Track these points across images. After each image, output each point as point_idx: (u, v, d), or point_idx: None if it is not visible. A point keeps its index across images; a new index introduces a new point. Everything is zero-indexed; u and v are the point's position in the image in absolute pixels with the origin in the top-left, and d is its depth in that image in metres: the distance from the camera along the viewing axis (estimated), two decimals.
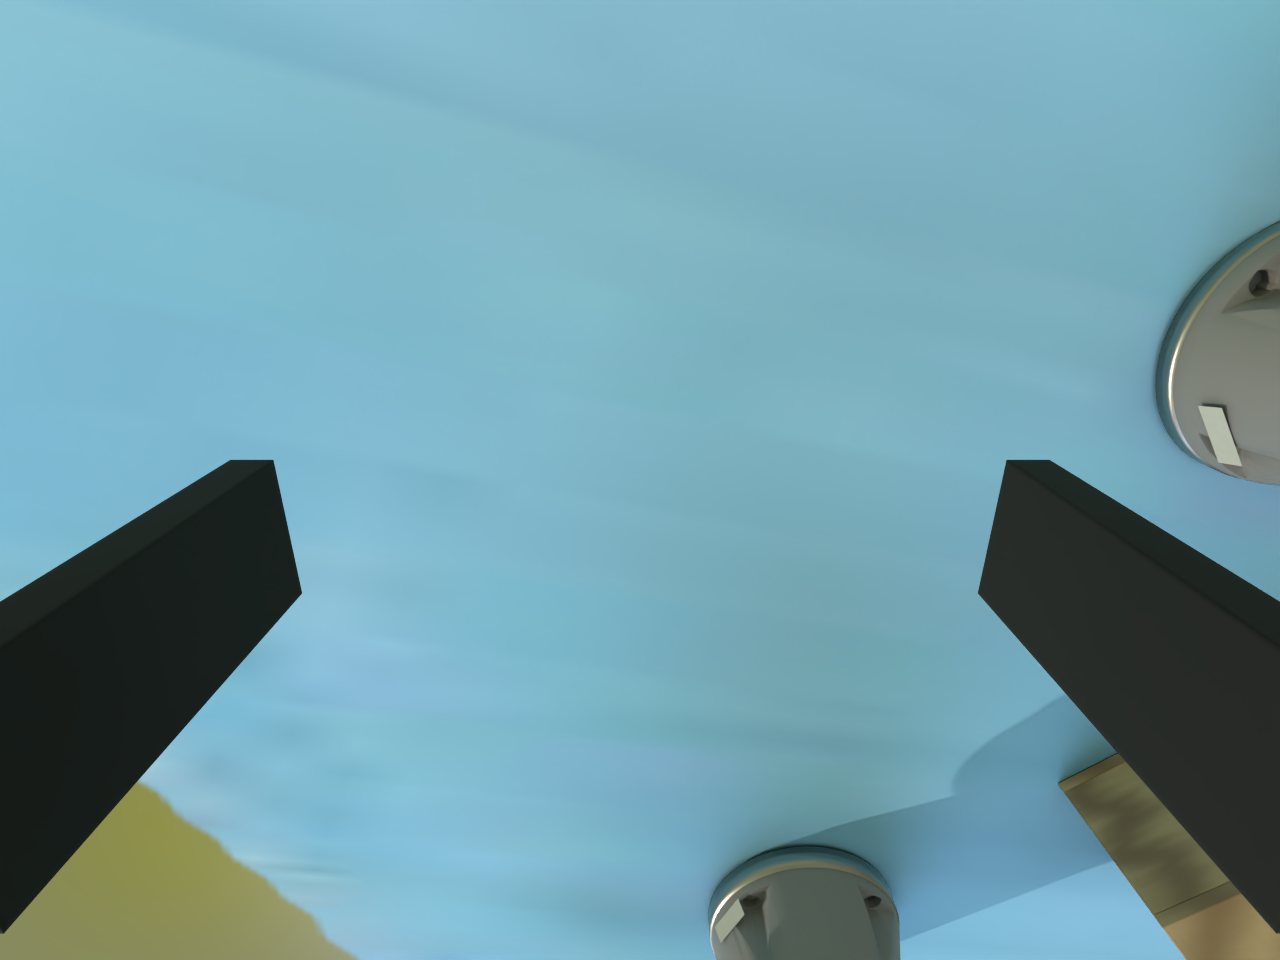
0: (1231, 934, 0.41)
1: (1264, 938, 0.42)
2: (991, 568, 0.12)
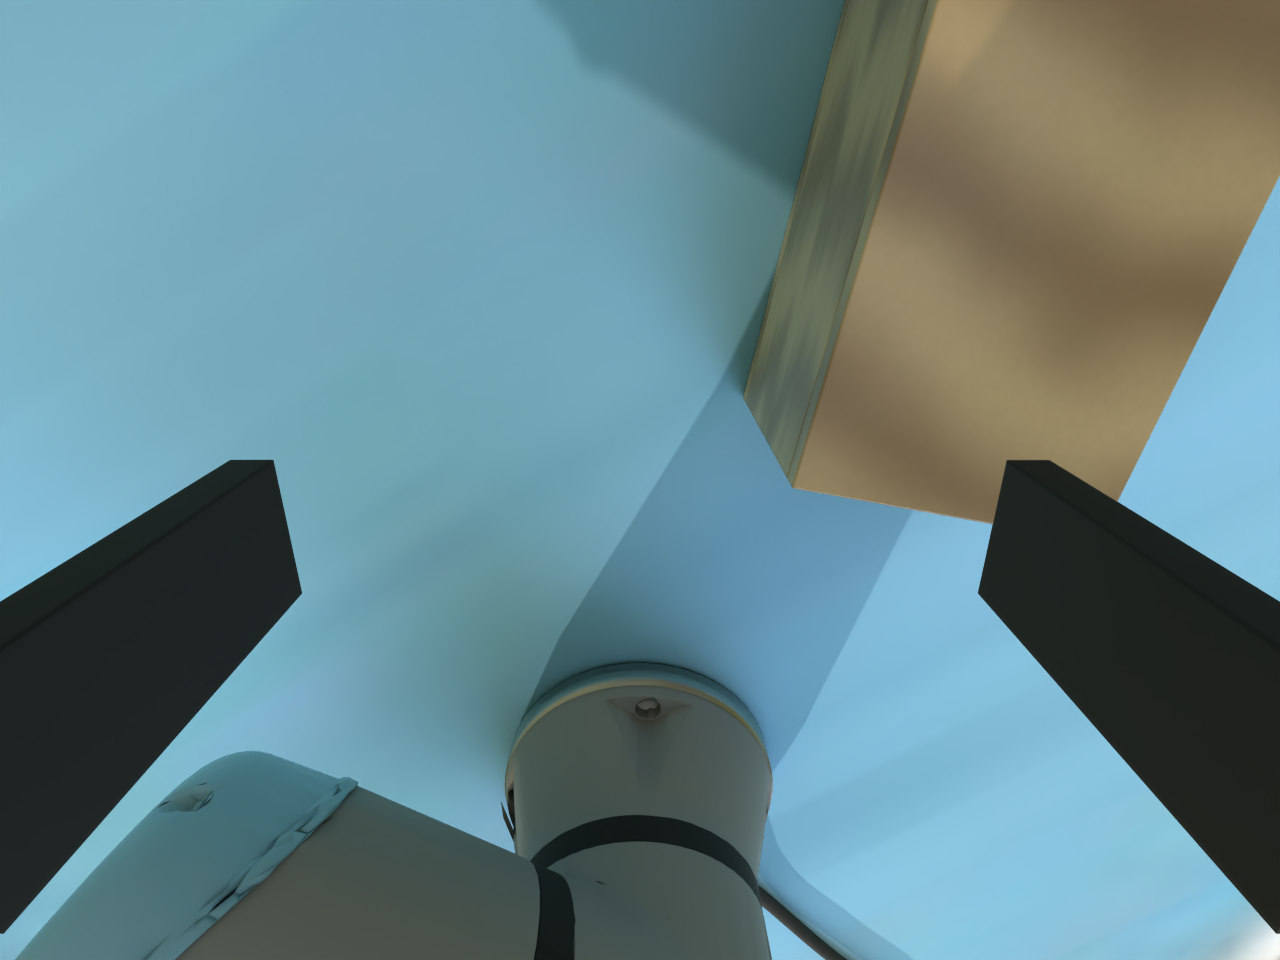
0: (919, 415, 0.21)
1: (986, 380, 0.20)
2: (992, 568, 0.12)
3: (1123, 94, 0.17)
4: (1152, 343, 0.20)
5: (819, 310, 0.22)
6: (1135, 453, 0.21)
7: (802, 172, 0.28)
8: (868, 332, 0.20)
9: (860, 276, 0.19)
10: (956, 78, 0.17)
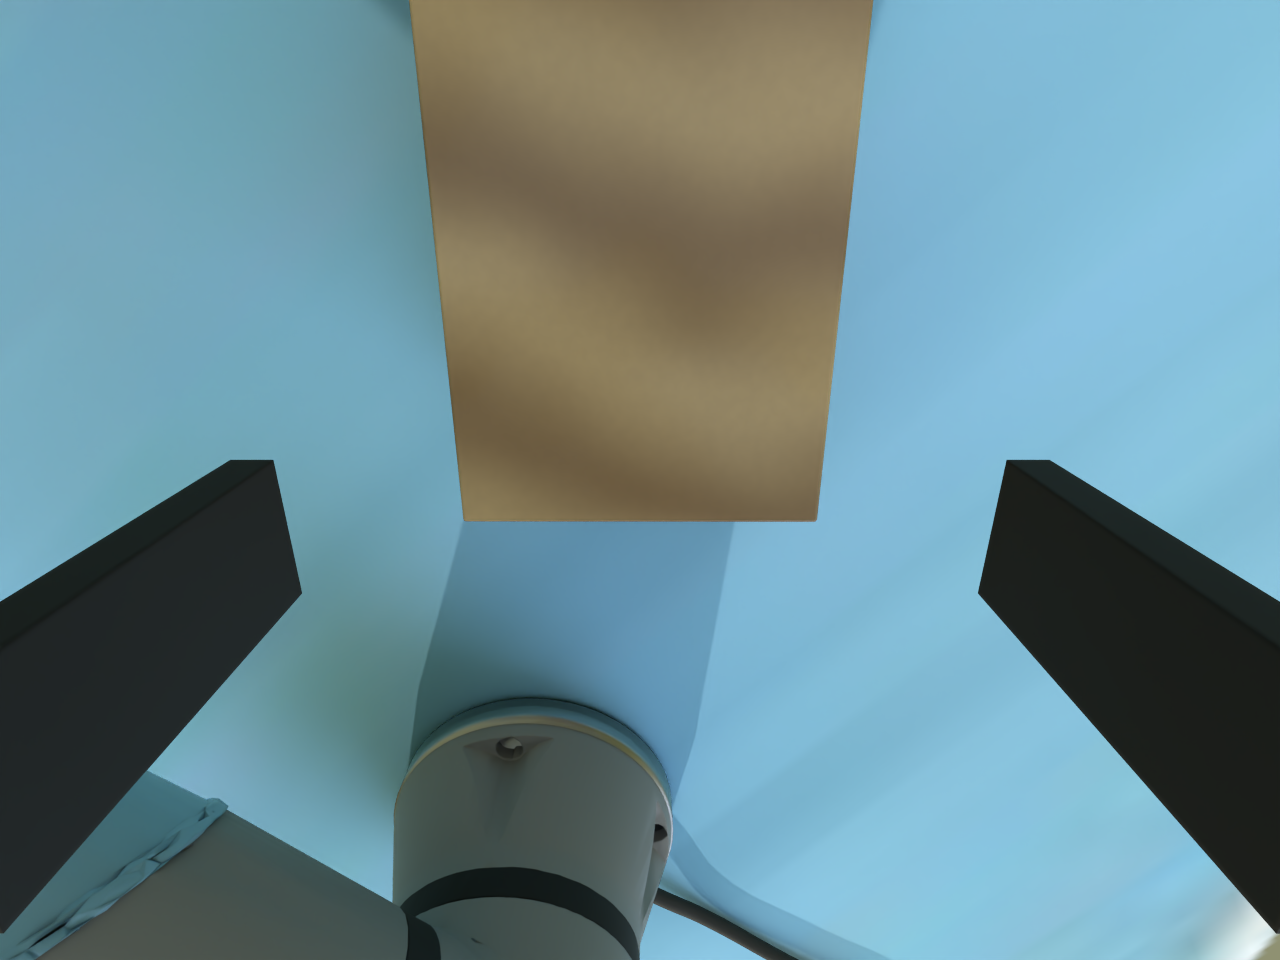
0: (567, 422, 0.19)
1: (624, 371, 0.18)
2: (991, 568, 0.12)
3: (650, 34, 0.15)
4: (791, 297, 0.18)
5: None
6: (820, 418, 0.19)
7: None
8: (476, 345, 0.18)
9: (444, 288, 0.18)
10: (460, 57, 0.16)
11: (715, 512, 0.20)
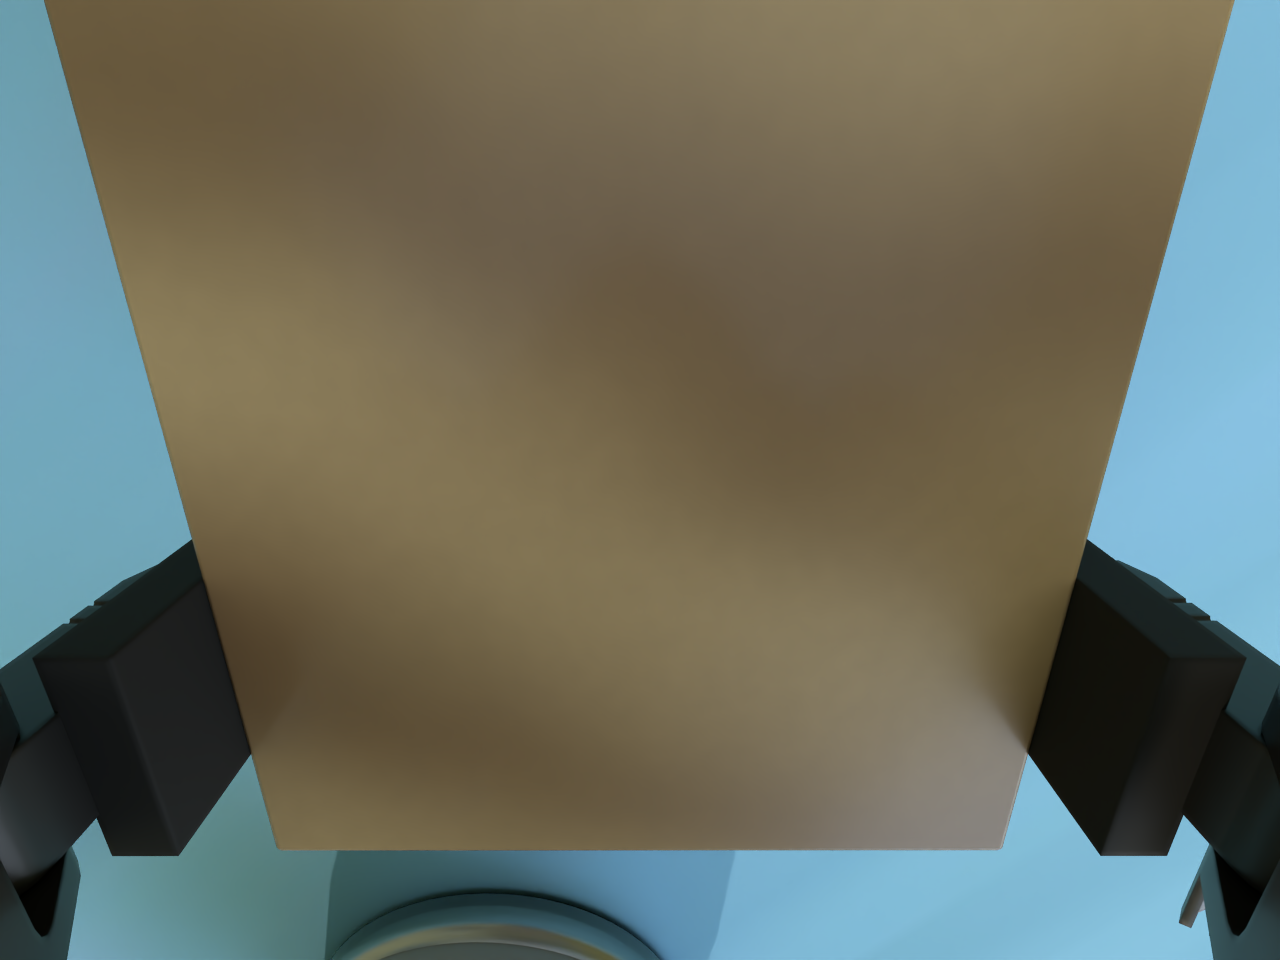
0: (480, 676, 0.09)
1: (602, 579, 0.08)
2: None
3: None
4: (1002, 419, 0.07)
5: None
6: (1036, 669, 0.09)
7: None
8: (259, 525, 0.08)
9: (166, 401, 0.07)
10: None
11: (795, 835, 0.10)
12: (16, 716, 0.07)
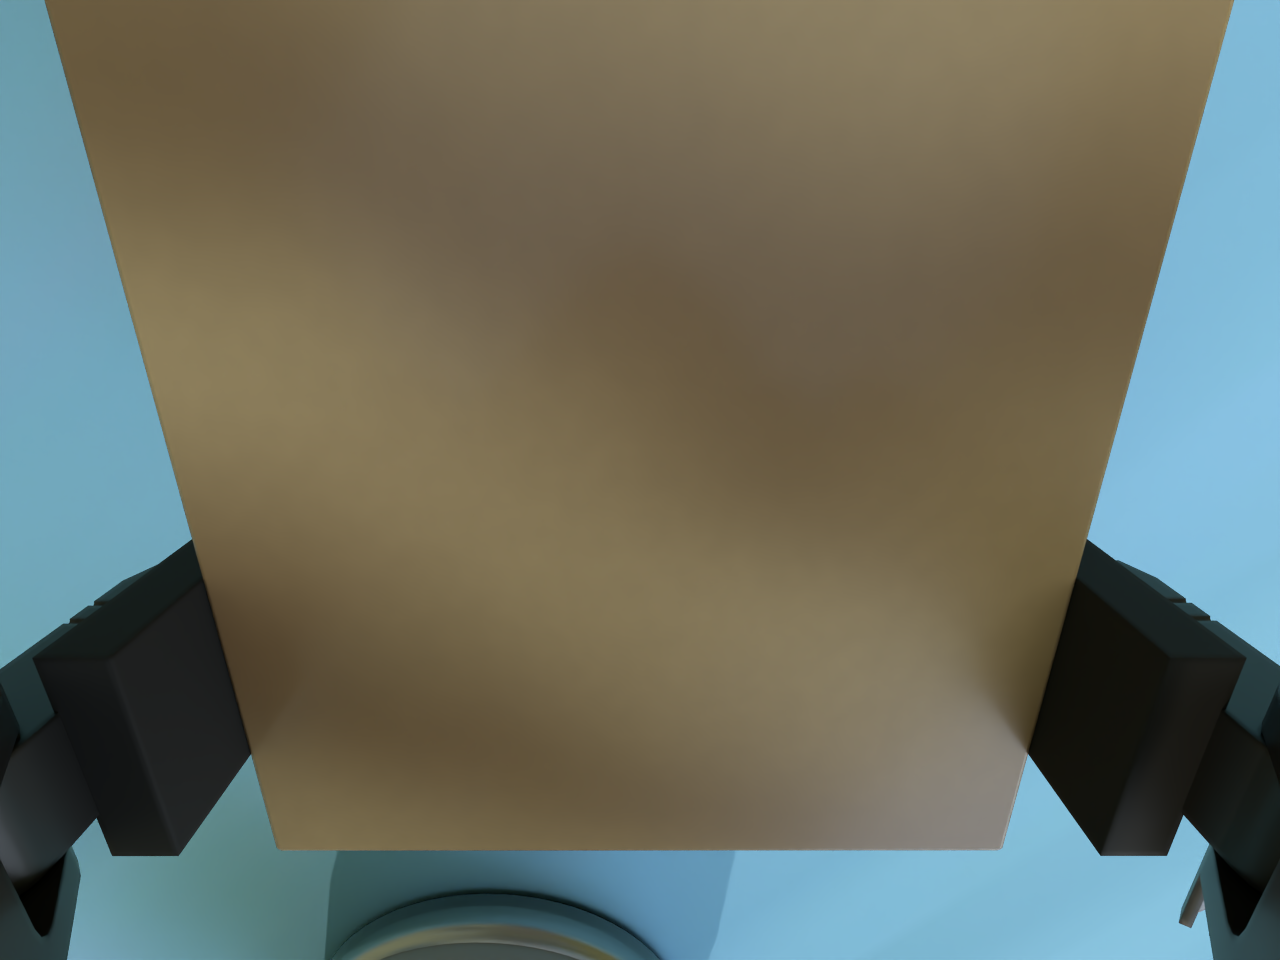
0: (480, 676, 0.09)
1: (602, 579, 0.08)
2: None
3: None
4: (1002, 419, 0.07)
5: None
6: (1036, 669, 0.09)
7: None
8: (258, 525, 0.08)
9: (166, 401, 0.07)
10: None
11: (795, 835, 0.10)
12: (16, 716, 0.07)
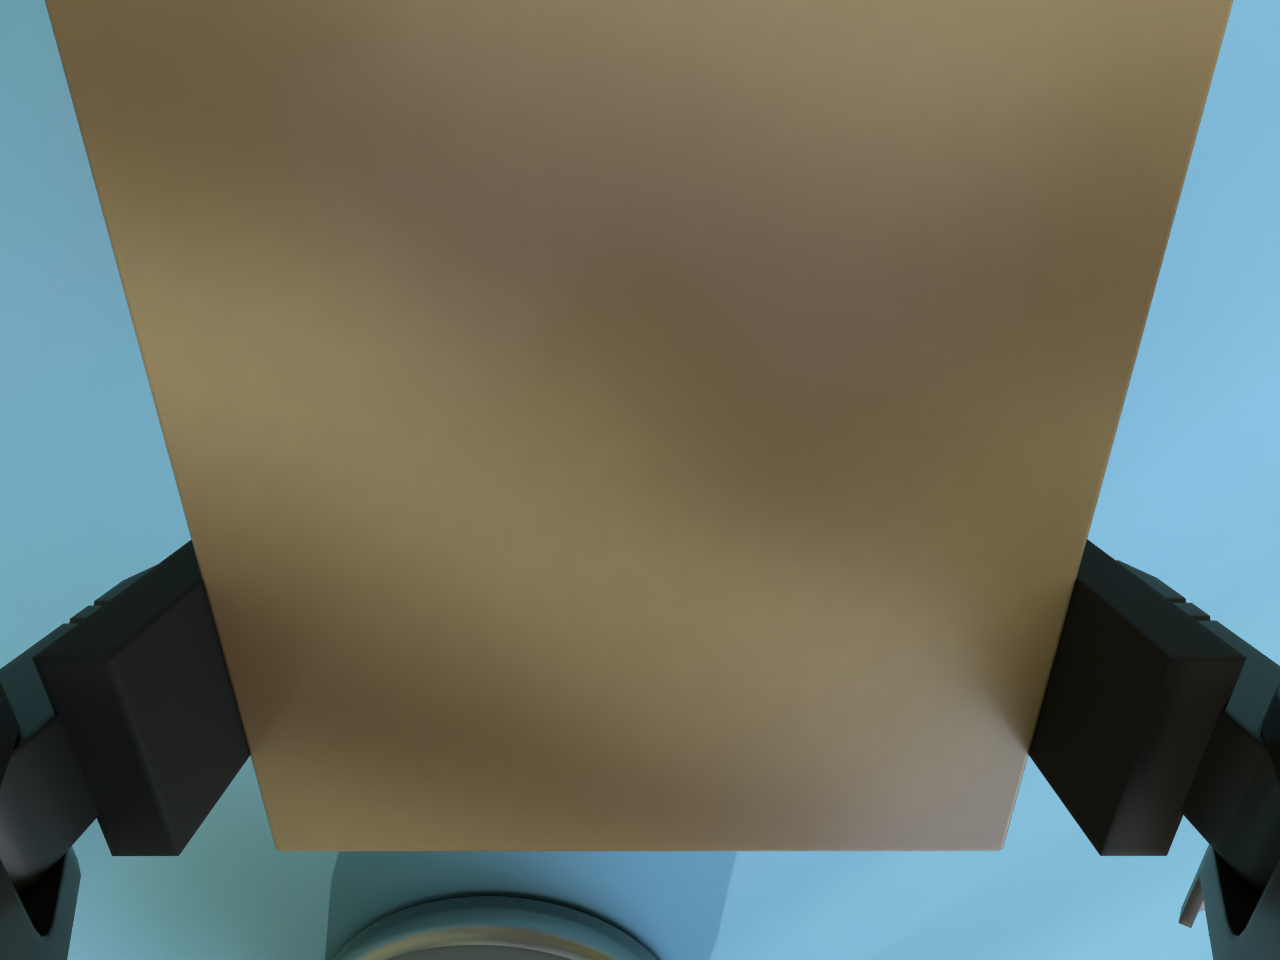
0: (480, 676, 0.09)
1: (602, 578, 0.08)
2: None
3: None
4: (1002, 418, 0.07)
5: None
6: (1037, 669, 0.09)
7: None
8: (257, 524, 0.08)
9: (165, 400, 0.07)
10: None
11: (795, 836, 0.10)
12: (16, 716, 0.07)
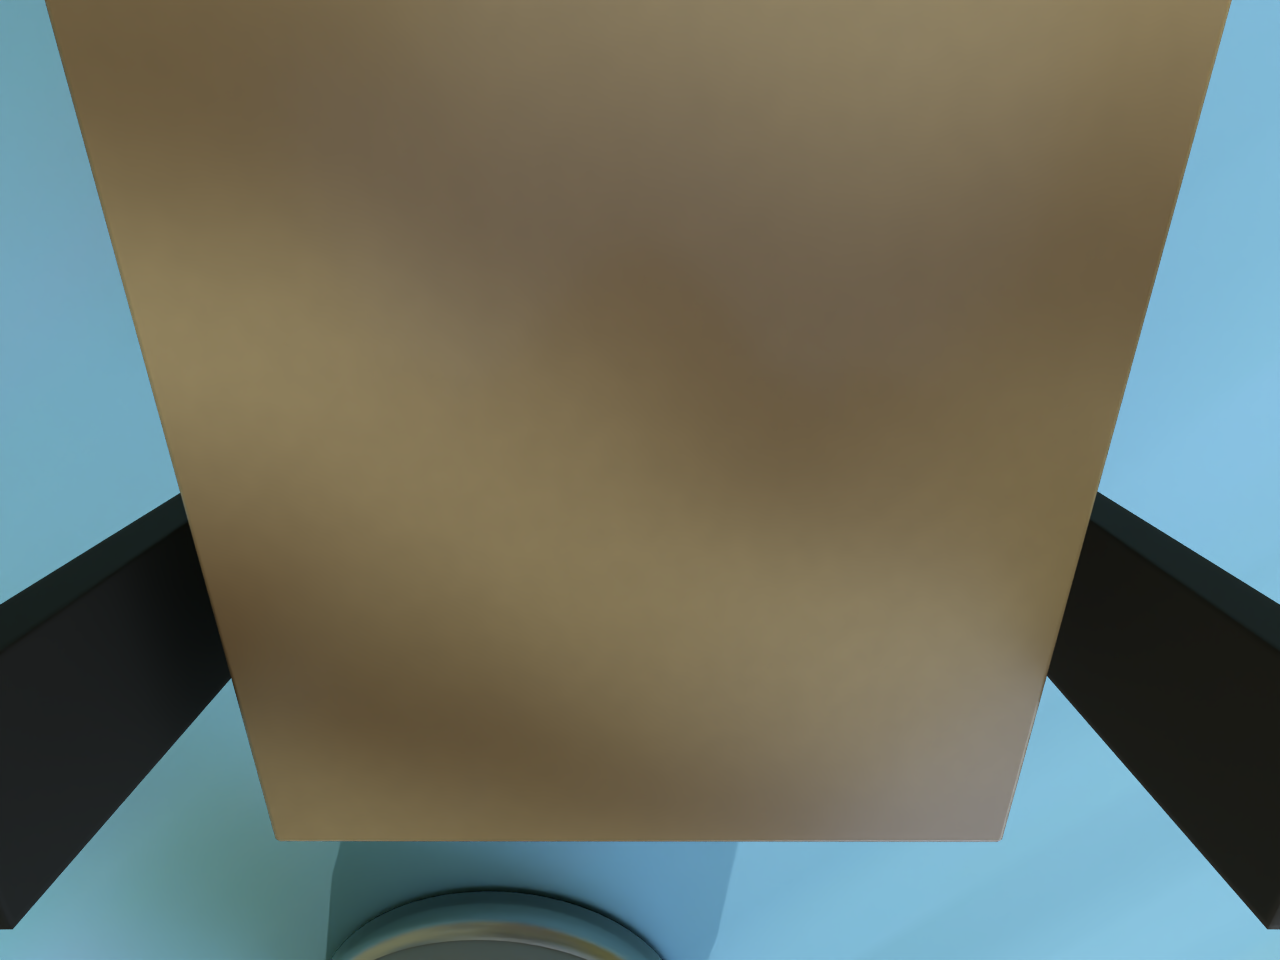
0: (478, 666, 0.09)
1: (601, 567, 0.08)
2: None
3: None
4: (1002, 407, 0.07)
5: None
6: (1036, 659, 0.09)
7: None
8: (257, 513, 0.08)
9: (163, 388, 0.07)
10: None
11: (794, 826, 0.10)
12: None
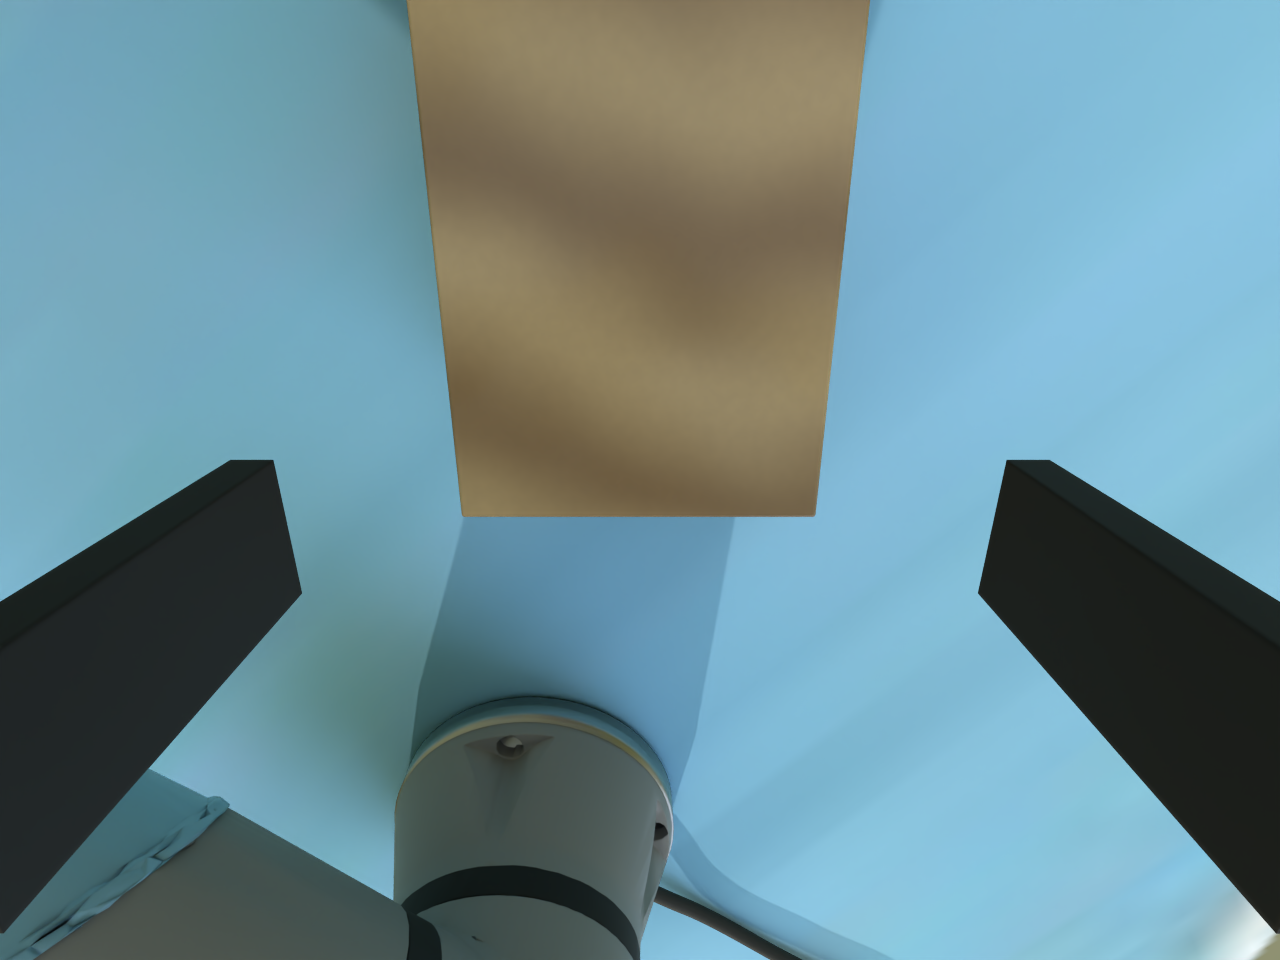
0: (565, 417, 0.19)
1: (622, 366, 0.18)
2: (991, 568, 0.12)
3: (647, 27, 0.15)
4: (789, 291, 0.18)
5: None
6: (819, 413, 0.19)
7: None
8: (474, 340, 0.18)
9: (442, 283, 0.17)
10: (457, 51, 0.16)
11: (713, 507, 0.20)
12: None
